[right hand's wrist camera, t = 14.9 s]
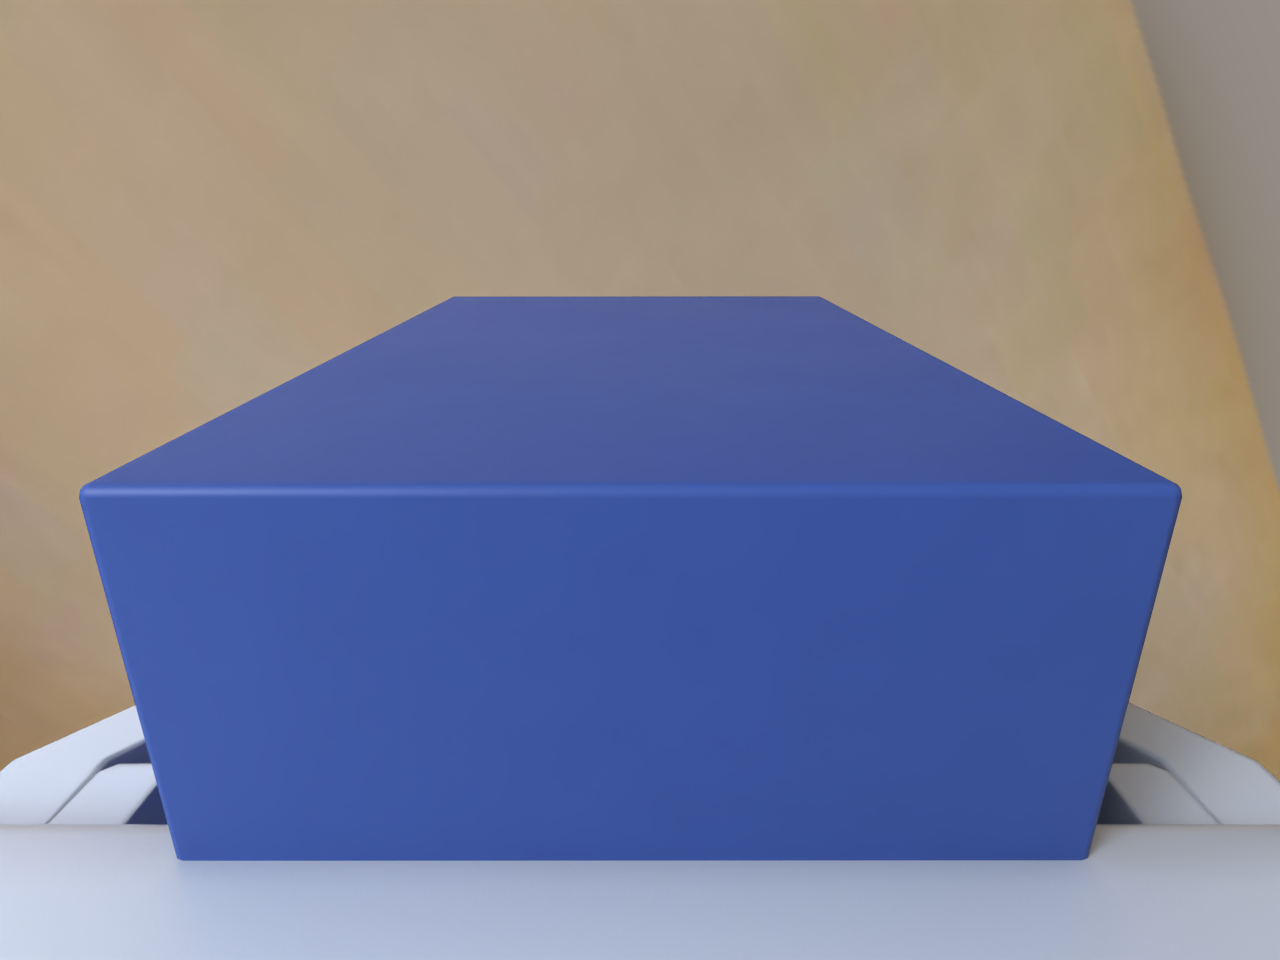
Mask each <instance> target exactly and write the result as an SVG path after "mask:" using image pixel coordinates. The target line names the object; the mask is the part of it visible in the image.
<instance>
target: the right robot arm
mask: <svg viewBox="0 0 1280 960" xmlns="http://www.w3.org/2000/svg"><path fill="white" fill-rule="evenodd" d="M0 960H1280V781H1278V780H1277V779H1276V778H1275V777H1274V776H1273V775H1272V774H1271V773H1270V772H1269V771H1267V770H1266V769H1265V768H1264V767H1263V766H1262V765H1261V764H1260V763H1259V762H1258V761H1255V760H1253V759H1251V758H1249V757H1247V756H1245V755H1242V754H1240V753H1238V752H1236V751H1234V750H1231V749H1229V748H1227V747H1225V746H1223V745H1220V744H1218V743H1216V742H1214V741H1212V740H1209V739H1207V738H1205V737H1203V736H1201V735H1198V734H1196V733H1194V732H1192V731H1190V730H1187V729H1185V728H1183V727H1181V726H1179V725H1176V724H1174V723H1172V722H1170V721H1168V720H1166V719H1163V718H1161V717H1159V716H1157V715H1155V714H1152V713H1150V712H1148V711H1146V710H1144V709H1141V708H1139V707H1137V706H1135V705H1133V704H1130V703H1128V706H1127V710H1126V714H1125V717H1124V721H1123V725H1122V729H1121V733H1120V737H1119V740H1118V744H1117V748H1116V752H1115V756H1114V760H1113V763H1112V767H1111V771H1110V775H1109V779H1108V783H1107V786H1106V790H1105V794H1104V798H1103V802H1102V806H1101V809H1100V813H1099V817H1098V821H1097V825H1096V829H1095V832H1094V836H1093V840H1092V844H1091V848H1090V851H1089V855H1088V858H1087V859H1084V860H765V861H764V860H763V861H182V860H180V859H177V856H176V853H175V849H174V845H173V842H172V838H171V834H170V831H169V827H168V823H167V820H166V816H165V812H164V808H163V805H162V801H161V797H160V794H159V790H158V786H157V783H156V779H155V775H154V772H153V768H152V764H151V761H150V757H149V753H148V750H147V746H146V742H145V738H144V735H143V731H142V727H141V724H140V720H139V716H138V713H137V709H136V705H135V706H133V707H131V708H128V709H126V710H124V711H122V712H119V713H117V714H115V715H113V716H111V717H108V718H106V719H104V720H102V721H99V722H97V723H95V724H93V725H91V726H88V727H86V728H84V729H82V730H79V731H77V732H75V733H73V734H71V735H68V736H66V737H64V738H62V739H59V740H57V741H55V742H53V743H51V744H48V745H46V746H44V747H42V748H39V749H37V750H35V751H33V752H31V753H28V754H26V755H24V756H22V757H19V758H17V759H15V760H13V761H12V762H11V763H10V764H8V765H7V766H6V767H5V768H4V769H3V770H2V771H1V772H0Z"/></svg>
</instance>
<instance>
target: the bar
mask: <svg viewBox="0 0 1280 960" xmlns="http://www.w3.org/2000/svg"><path fill="white" fill-rule="evenodd" d="M79 499H80V503H81V506H82V510H83V514H84V517H85V521H86V525H87V528H88V532H89V536H90V540H91V543H92V547H93V551H94V554H95V558H96V562H97V565H98V569H99V573H100V576H101V580H102V584H103V587H104V591H105V595H106V598H107V602H108V606H109V610H110V613H111V617H112V621H113V624H114V628H115V632H116V635H117V639H118V643H119V646H120V650H121V654H122V657H123V661H124V665H125V668H126V672H127V676H128V680H129V683H130V687H131V691H132V694H133V698H134V702H135V705H136V709H137V713H138V716H139V720H140V724H141V727H142V731H143V735H144V738H145V742H146V746H147V750H148V753H149V757H150V761H151V764H152V768H153V772H154V775H155V779H156V783H157V786H158V790H159V794H160V797H161V801H162V805H163V808H164V812H165V816H166V820H167V823H168V827H169V831H170V834H171V838H172V842H173V845H174V849H175V853H176V856H177V859H180V860H182V861H763V860H764V861H765V860H1084V859H1087V858H1088V855H1089V851H1090V848H1091V844H1092V840H1093V836H1094V832H1095V829H1096V825H1097V821H1098V817H1099V813H1100V809H1101V806H1102V802H1103V798H1104V794H1105V790H1106V786H1107V783H1108V779H1109V775H1110V771H1111V767H1112V763H1113V760H1114V756H1115V752H1116V748H1117V744H1118V740H1119V737H1120V733H1121V729H1122V725H1123V721H1124V717H1125V714H1126V710H1127V706H1128V702H1129V698H1130V695H1131V691H1132V687H1133V683H1134V679H1135V675H1136V672H1137V668H1138V664H1139V660H1140V656H1141V652H1142V649H1143V645H1144V641H1145V637H1146V633H1147V629H1148V626H1149V622H1150V618H1151V614H1152V610H1153V606H1154V603H1155V599H1156V595H1157V591H1158V587H1159V583H1160V580H1161V576H1162V572H1163V568H1164V564H1165V561H1166V557H1167V553H1168V549H1169V545H1170V541H1171V538H1172V534H1173V530H1174V526H1175V522H1176V518H1177V515H1178V511H1179V507H1180V503H1181V499H1182V493H1181V489H1180V487H1179V486H1178V485H1177V484H1175V483H1173V482H1171V481H1169V480H1168V479H1166V478H1164V477H1162V476H1160V475H1158V474H1156V473H1154V472H1152V471H1150V470H1149V469H1147V468H1145V467H1143V466H1141V465H1139V464H1137V463H1135V462H1133V461H1131V460H1130V459H1128V458H1126V457H1124V456H1122V455H1120V454H1118V453H1116V452H1114V451H1112V450H1110V449H1109V448H1107V447H1105V446H1103V445H1101V444H1099V443H1097V442H1095V441H1093V440H1091V439H1090V438H1088V437H1086V436H1084V435H1082V434H1080V433H1078V432H1076V431H1074V430H1072V429H1071V428H1069V427H1067V426H1065V425H1063V424H1061V423H1059V422H1057V421H1055V420H1053V419H1051V418H1050V417H1048V416H1046V415H1044V414H1042V413H1040V412H1038V411H1036V410H1034V409H1032V408H1031V407H1029V406H1027V405H1025V404H1023V403H1021V402H1019V401H1017V400H1015V399H1013V398H1012V397H1010V396H1008V395H1006V394H1004V393H1002V392H1000V391H998V390H996V389H994V388H992V387H991V386H989V385H987V384H985V383H983V382H981V381H979V380H977V379H975V378H973V377H972V376H970V375H968V374H966V373H964V372H962V371H960V370H958V369H956V368H954V367H953V366H951V365H949V364H947V363H945V362H943V361H941V360H939V359H937V358H935V357H933V356H932V355H930V354H928V353H926V352H924V351H922V350H920V349H918V348H916V347H914V346H913V345H911V344H909V343H907V342H905V341H903V340H901V339H899V338H897V337H895V336H893V335H892V334H890V333H888V332H886V331H884V330H882V329H880V328H878V327H876V326H874V325H873V324H871V323H869V322H867V321H865V320H863V319H861V318H859V317H857V316H855V315H854V314H852V313H850V312H848V311H846V310H844V309H842V308H840V307H838V306H836V305H834V304H833V303H831V302H829V301H827V300H825V299H823V298H821V297H453V298H450V299H448V300H446V301H444V302H443V303H441V304H439V305H437V306H435V307H433V308H431V309H429V310H427V311H425V312H423V313H421V314H419V315H417V316H415V317H413V318H411V319H409V320H407V321H405V322H403V323H401V324H399V325H397V326H395V327H394V328H392V329H390V330H388V331H386V332H384V333H382V334H380V335H378V336H376V337H374V338H372V339H370V340H368V341H366V342H364V343H362V344H360V345H358V346H356V347H354V348H352V349H350V350H348V351H346V352H345V353H343V354H341V355H339V356H337V357H335V358H333V359H331V360H329V361H327V362H325V363H323V364H321V365H319V366H317V367H315V368H313V369H311V370H309V371H307V372H305V373H303V374H301V375H299V376H297V377H296V378H294V379H292V380H290V381H288V382H286V383H284V384H282V385H280V386H278V387H276V388H274V389H272V390H270V391H268V392H266V393H264V394H262V395H260V396H258V397H256V398H254V399H252V400H250V401H248V402H247V403H245V404H243V405H241V406H239V407H237V408H235V409H233V410H231V411H229V412H227V413H225V414H223V415H221V416H219V417H217V418H215V419H213V420H211V421H209V422H207V423H205V424H203V425H201V426H200V427H198V428H196V429H194V430H192V431H190V432H188V433H186V434H184V435H182V436H180V437H178V438H176V439H174V440H172V441H170V442H168V443H166V444H164V445H162V446H160V447H158V448H156V449H154V450H152V451H151V452H149V453H147V454H145V455H143V456H141V457H139V458H137V459H135V460H133V461H131V462H129V463H127V464H125V465H123V466H121V467H119V468H117V469H115V470H113V471H111V472H109V473H107V474H105V475H103V476H102V477H100V478H98V479H96V480H94V481H92V482H90V483H88V484H86V485H84V486H83V487H82V488H81V490H80V496H79Z"/></svg>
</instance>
